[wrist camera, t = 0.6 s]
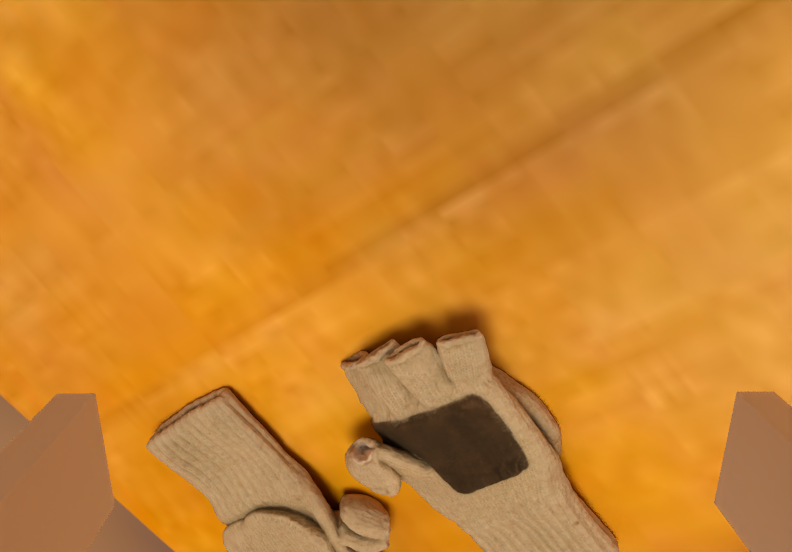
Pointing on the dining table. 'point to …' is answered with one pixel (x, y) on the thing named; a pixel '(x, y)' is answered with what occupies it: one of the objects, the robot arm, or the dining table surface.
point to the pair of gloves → (394, 459)
